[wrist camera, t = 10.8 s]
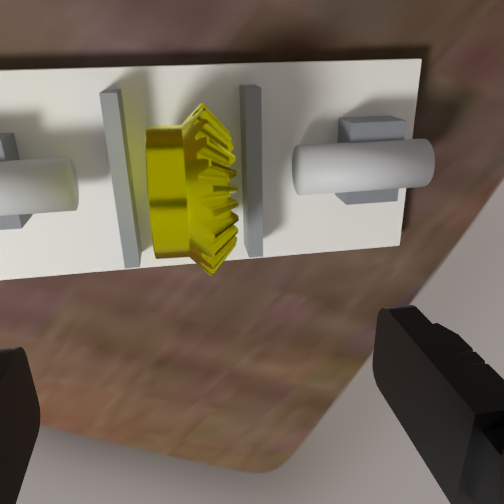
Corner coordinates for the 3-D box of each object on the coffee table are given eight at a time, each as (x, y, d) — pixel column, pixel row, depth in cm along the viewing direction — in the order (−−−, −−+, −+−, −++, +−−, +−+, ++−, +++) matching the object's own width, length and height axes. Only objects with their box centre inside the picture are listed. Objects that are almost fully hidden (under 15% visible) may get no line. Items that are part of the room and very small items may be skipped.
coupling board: (-30, 273, 27) (-65, 314, 23) (-91, 72, 23) (-147, 78, 19) (391, 238, 31) (424, 267, 27) (411, 58, 26) (455, 61, 22)
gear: (147, 95, 24) (138, 117, 16) (220, 94, 24) (242, 115, 17) (160, 240, 27) (156, 311, 20) (223, 236, 28) (243, 304, 20)
